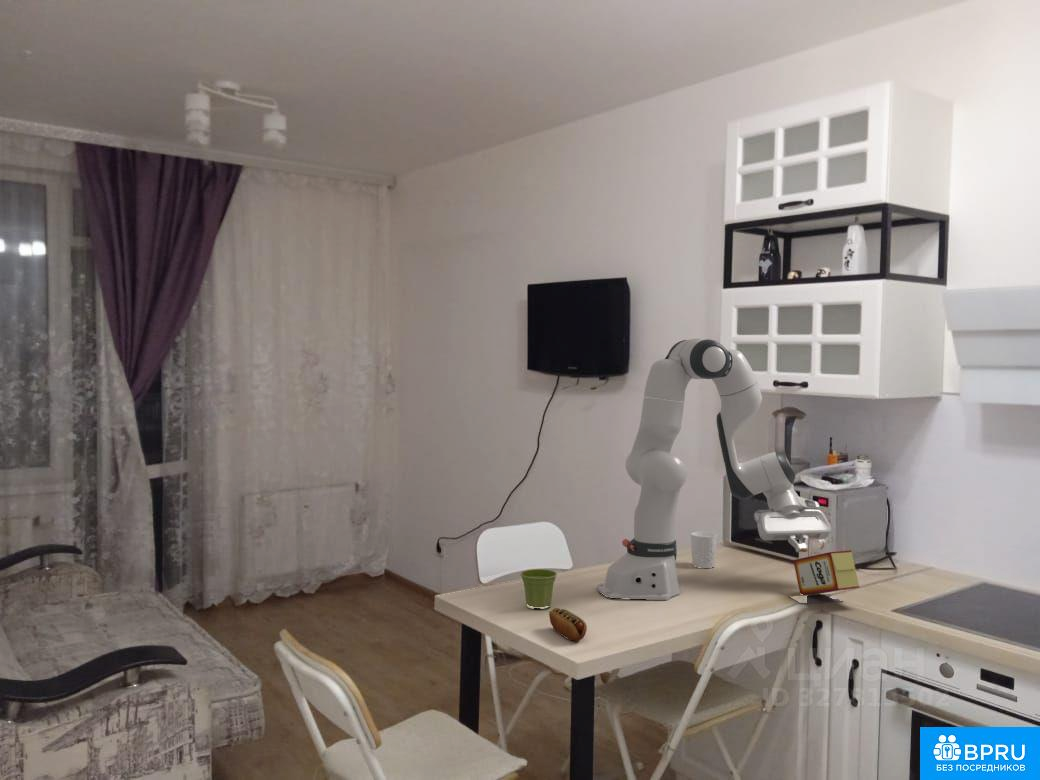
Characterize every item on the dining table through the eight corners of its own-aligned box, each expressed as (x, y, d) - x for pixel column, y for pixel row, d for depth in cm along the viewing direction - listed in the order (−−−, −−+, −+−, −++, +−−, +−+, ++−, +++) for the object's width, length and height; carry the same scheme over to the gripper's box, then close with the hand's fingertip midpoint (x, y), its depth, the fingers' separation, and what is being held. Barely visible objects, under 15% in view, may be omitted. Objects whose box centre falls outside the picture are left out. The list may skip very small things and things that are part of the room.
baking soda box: (820, 593, 226) (860, 587, 212) (800, 595, 224) (839, 589, 210) (812, 558, 229) (852, 550, 215) (793, 560, 227) (831, 551, 213)
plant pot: (512, 606, 214) (512, 572, 214) (540, 599, 220) (540, 567, 220) (536, 614, 207) (536, 579, 207) (564, 607, 213) (564, 573, 213)
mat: (800, 604, 216) (800, 603, 216) (787, 596, 223) (787, 595, 223) (843, 602, 218) (843, 601, 218) (829, 594, 225) (829, 594, 225)
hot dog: (565, 625, 198) (565, 604, 198) (591, 642, 186) (591, 620, 186) (546, 628, 196) (546, 607, 196) (571, 645, 184) (572, 623, 184)
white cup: (714, 563, 260) (715, 532, 260) (718, 569, 252) (718, 537, 252) (689, 563, 261) (689, 531, 261) (691, 569, 253) (692, 536, 253)
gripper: (755, 503, 233) (770, 545, 224) (823, 502, 236) (841, 543, 227) (748, 516, 237) (763, 558, 228) (815, 514, 241) (832, 556, 231)
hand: (802, 551), depth 227 cm, fingers closed
